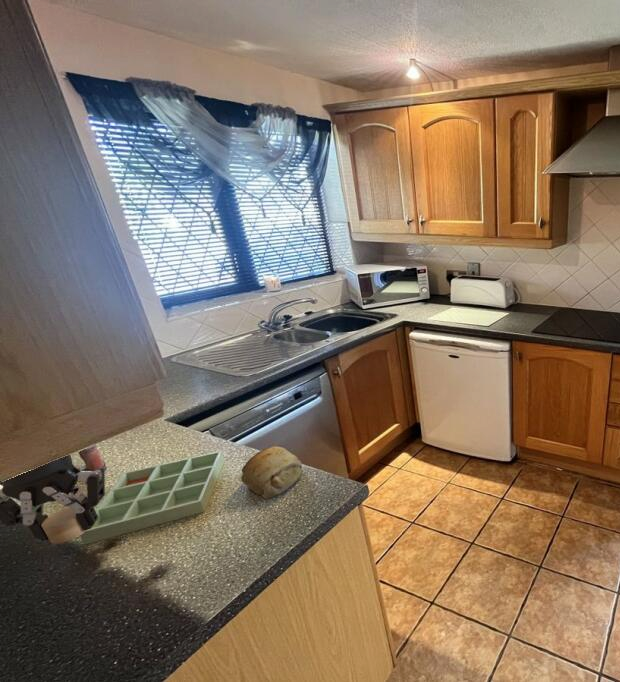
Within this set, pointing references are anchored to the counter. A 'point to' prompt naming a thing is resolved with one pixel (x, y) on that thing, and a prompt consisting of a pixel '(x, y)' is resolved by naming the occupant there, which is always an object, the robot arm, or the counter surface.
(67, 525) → the beige short cylinder
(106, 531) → the grid
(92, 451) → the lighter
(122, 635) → the counter surface
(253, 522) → the counter surface
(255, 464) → the pastry
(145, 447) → the counter surface
